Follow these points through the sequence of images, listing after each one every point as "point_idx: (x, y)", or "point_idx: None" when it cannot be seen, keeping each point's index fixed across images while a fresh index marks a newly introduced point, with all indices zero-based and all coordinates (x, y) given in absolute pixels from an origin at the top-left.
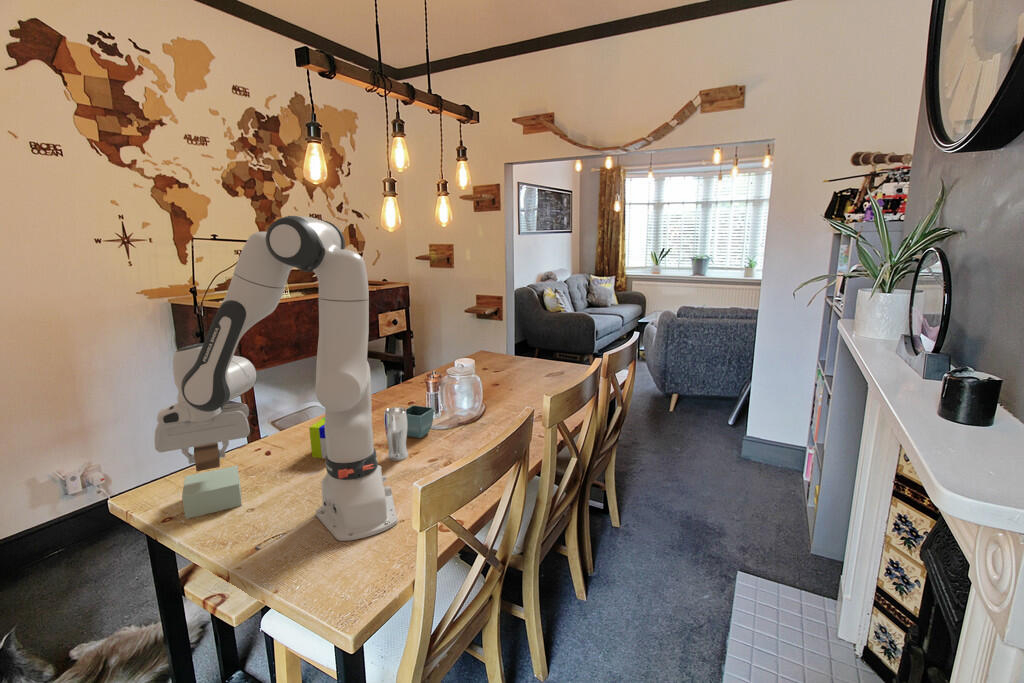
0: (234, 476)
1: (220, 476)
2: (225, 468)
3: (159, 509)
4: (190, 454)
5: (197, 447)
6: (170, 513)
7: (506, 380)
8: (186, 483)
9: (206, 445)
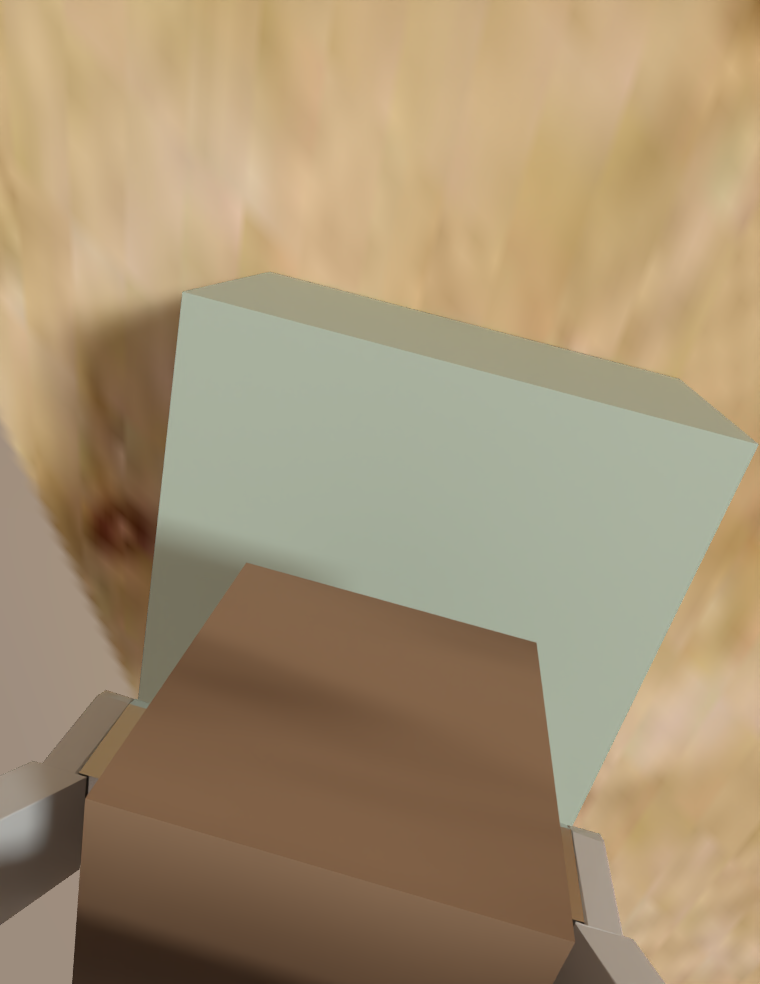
0: (592, 702)
1: (488, 598)
2: (608, 428)
3: (69, 328)
4: (60, 825)
5: (134, 920)
6: (137, 457)
7: None
8: (181, 504)
9: (309, 954)
